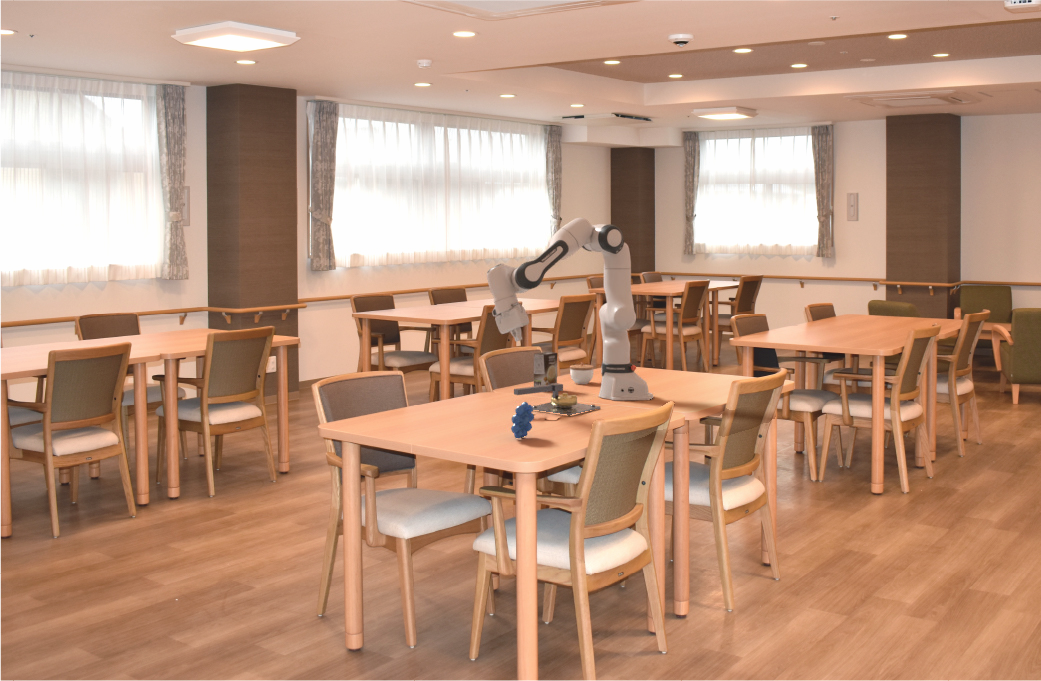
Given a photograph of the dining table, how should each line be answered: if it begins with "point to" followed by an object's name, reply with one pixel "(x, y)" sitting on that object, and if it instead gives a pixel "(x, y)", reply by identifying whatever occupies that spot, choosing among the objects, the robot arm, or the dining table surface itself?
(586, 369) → the lidded jar
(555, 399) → the lever valve
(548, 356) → the coffee box
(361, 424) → the dining table surface
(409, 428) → the dining table surface
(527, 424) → the grapes
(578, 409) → the dark square board
